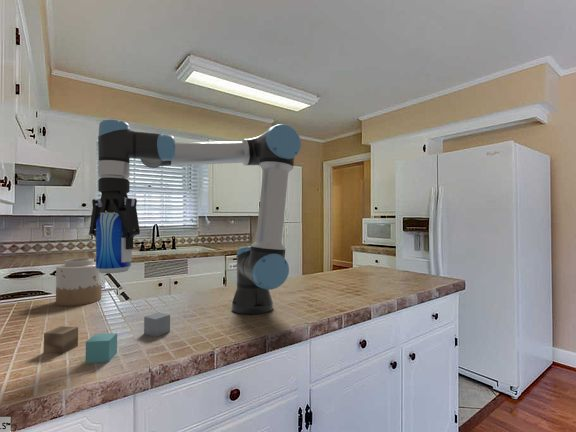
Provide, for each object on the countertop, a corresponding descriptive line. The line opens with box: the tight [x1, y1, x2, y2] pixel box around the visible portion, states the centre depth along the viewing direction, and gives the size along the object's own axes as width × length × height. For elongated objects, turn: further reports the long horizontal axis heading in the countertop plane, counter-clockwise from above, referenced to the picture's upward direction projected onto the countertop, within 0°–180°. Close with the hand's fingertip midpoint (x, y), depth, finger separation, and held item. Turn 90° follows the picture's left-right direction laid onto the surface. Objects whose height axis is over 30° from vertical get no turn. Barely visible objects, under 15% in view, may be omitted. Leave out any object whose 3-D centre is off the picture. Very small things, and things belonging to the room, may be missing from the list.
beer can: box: [95, 213, 132, 274], centre depth 86 cm, size 8×8×16 cm
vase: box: [55, 257, 103, 307], centre depth 127 cm, size 15×15×17 cm
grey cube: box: [143, 311, 171, 338], centre depth 92 cm, size 5×5×5 cm
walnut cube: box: [43, 325, 79, 355], centre depth 80 cm, size 5×5×5 cm
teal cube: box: [85, 332, 118, 364], centre depth 75 cm, size 5×5×5 cm
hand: (114, 260), depth 86 cm, fingers closed on beer can, 8 cm apart
